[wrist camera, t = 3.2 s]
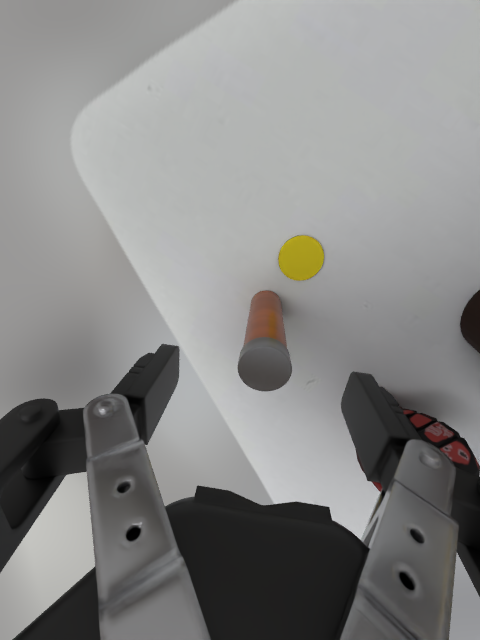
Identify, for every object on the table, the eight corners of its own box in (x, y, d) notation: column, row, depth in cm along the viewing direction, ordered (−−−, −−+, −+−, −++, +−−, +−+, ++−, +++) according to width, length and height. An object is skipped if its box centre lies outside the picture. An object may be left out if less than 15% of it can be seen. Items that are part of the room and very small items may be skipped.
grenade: (430, 427, 24) (530, 564, 15) (340, 431, 25) (382, 559, 16) (437, 383, 22) (558, 510, 13) (340, 390, 23) (387, 509, 14)
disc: (300, 225, 18) (300, 225, 18) (333, 255, 18) (333, 255, 18) (269, 261, 19) (269, 261, 19) (301, 288, 20) (301, 288, 19)
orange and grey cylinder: (252, 286, 20) (240, 342, 12) (285, 291, 20) (296, 351, 12) (247, 316, 21) (235, 387, 13) (279, 321, 21) (286, 395, 13)
